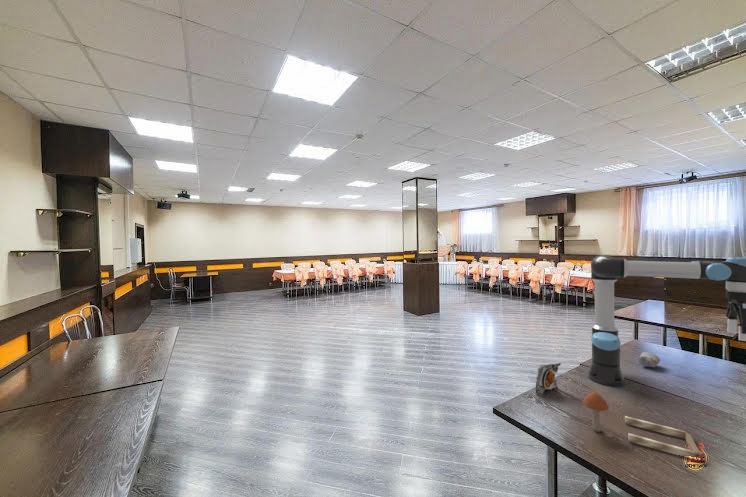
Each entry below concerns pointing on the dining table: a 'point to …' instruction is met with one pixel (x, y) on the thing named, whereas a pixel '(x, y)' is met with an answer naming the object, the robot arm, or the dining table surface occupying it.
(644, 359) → the stone
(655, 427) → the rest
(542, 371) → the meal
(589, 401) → the mushroom
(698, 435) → the dining table surface
